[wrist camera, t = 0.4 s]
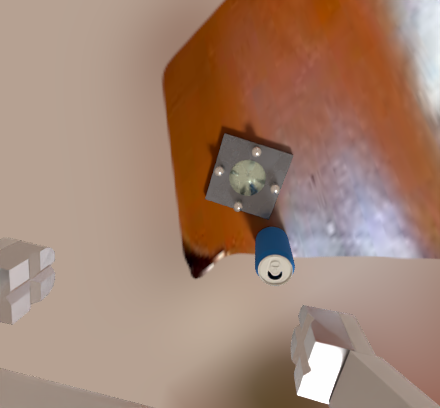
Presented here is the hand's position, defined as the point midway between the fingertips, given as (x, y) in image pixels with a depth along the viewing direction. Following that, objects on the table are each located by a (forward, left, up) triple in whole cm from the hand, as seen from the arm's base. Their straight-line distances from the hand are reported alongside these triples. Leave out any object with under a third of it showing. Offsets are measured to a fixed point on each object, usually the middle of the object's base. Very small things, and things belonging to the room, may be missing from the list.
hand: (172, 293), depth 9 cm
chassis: (+5, +3, -46) cm, 46 cm away
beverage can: (+16, +11, -46) cm, 50 cm away
